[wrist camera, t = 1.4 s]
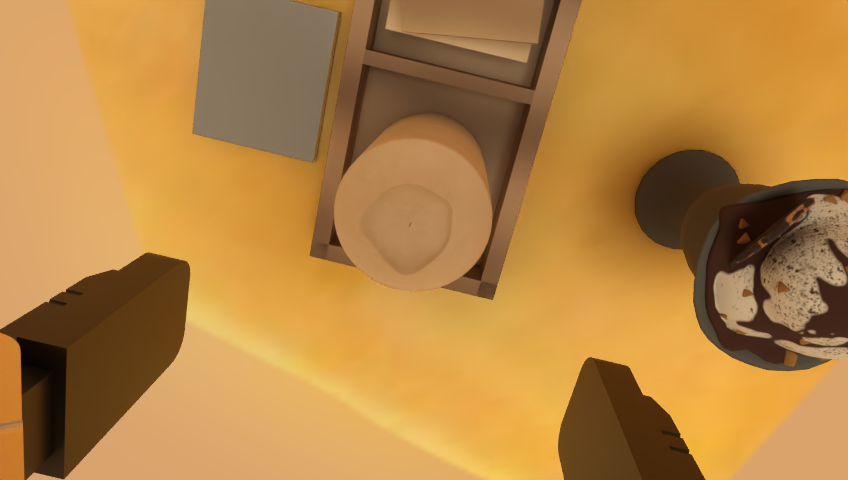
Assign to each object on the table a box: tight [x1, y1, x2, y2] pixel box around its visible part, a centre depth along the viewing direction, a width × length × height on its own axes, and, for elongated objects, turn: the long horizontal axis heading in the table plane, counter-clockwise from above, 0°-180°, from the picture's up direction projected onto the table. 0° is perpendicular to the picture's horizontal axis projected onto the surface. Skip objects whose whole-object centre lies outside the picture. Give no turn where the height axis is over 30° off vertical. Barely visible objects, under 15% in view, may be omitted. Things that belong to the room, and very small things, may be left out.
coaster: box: [193, 0, 341, 163], centre depth 27 cm, size 7×6×1 cm
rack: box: [310, 0, 582, 300], centre depth 25 cm, size 17×9×5 cm, turn 167°
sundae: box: [635, 150, 848, 371], centre depth 21 cm, size 7×7×15 cm
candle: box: [334, 112, 492, 291], centre depth 23 cm, size 6×6×10 cm
